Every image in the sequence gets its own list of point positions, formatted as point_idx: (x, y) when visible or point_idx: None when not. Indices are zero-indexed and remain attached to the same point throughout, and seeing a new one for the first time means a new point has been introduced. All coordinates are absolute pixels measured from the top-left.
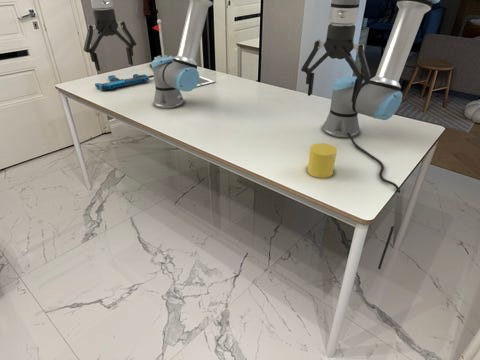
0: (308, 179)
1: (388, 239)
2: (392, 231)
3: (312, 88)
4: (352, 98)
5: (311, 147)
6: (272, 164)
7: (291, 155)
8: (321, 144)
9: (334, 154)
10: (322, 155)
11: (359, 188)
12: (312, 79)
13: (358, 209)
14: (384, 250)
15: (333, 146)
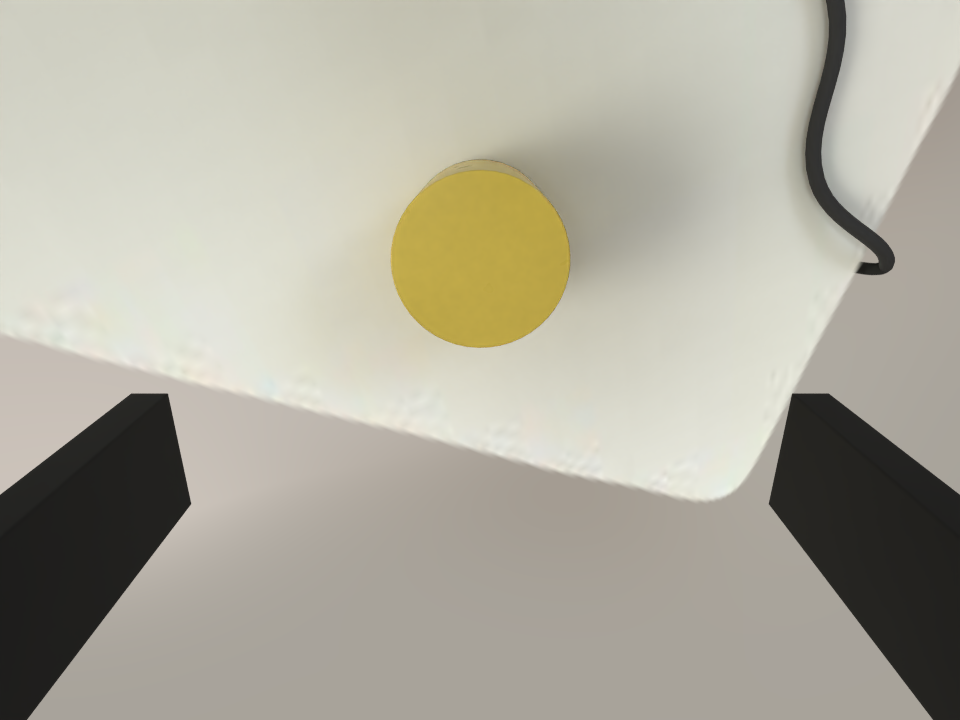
0: None
1: None
2: None
3: (125, 444)
4: (800, 533)
5: (400, 275)
6: (218, 272)
7: (264, 115)
8: (450, 199)
9: (561, 294)
10: (493, 345)
11: (695, 313)
12: (17, 653)
13: (693, 463)
14: None
15: (537, 194)
